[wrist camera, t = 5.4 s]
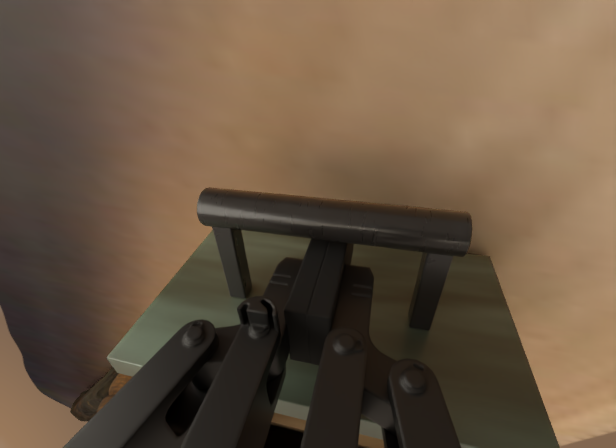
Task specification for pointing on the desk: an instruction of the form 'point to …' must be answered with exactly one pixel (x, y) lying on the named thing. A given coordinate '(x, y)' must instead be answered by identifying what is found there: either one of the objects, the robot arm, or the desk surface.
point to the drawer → (384, 310)
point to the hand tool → (93, 397)
